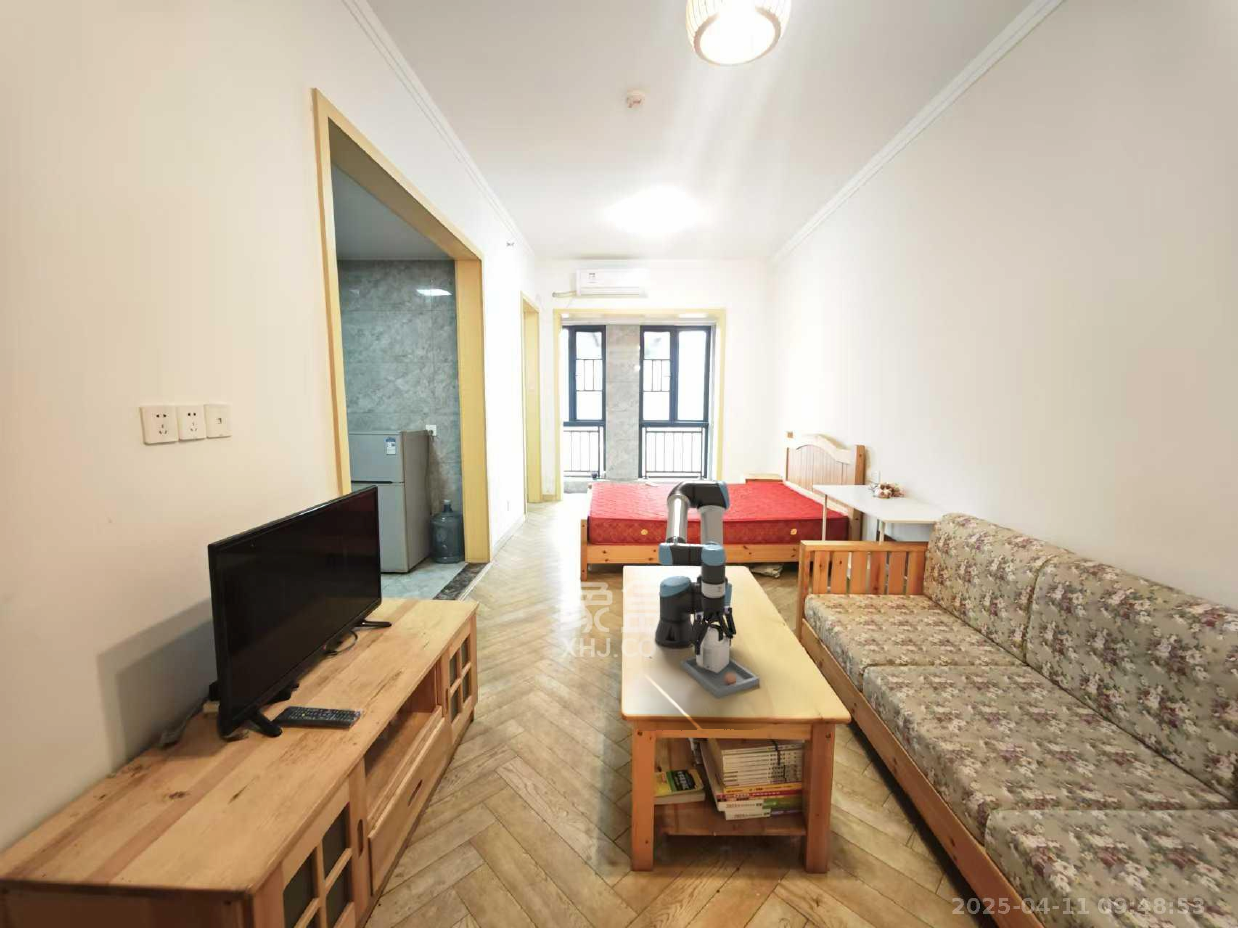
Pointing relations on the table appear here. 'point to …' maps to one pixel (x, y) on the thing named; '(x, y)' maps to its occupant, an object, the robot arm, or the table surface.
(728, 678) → the ball
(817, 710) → the table surface
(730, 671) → the tray
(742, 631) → the table surface
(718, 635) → the container
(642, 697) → the table surface
